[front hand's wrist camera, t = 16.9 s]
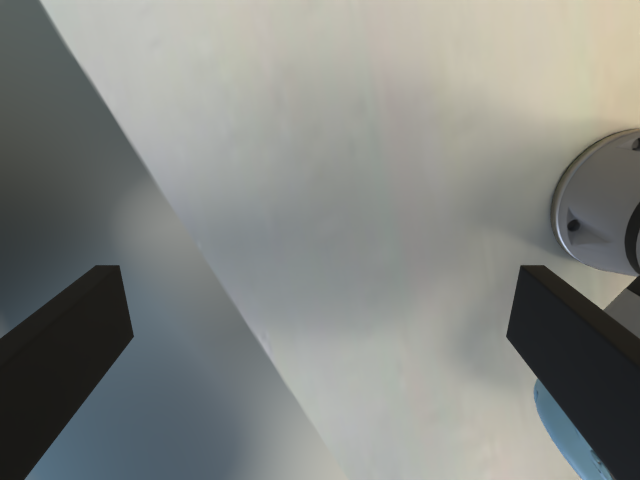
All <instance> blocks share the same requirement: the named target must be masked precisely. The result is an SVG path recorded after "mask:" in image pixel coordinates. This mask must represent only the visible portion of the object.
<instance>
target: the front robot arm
mask: <svg viewBox="0 0 640 480" xmlns="http://www.w3.org/2000/svg"><path fill="white" fill-rule="evenodd" d="M551 224H552V229H553V233H554V235H555V237H556V239H557V241H558V243H559V244H560V246H561V247H562V248H563V249H564V250H565V251H566V252H567V253H568V254H569V255H571V256H572V257H574V258H575V259H577V260H579V261H580V262H582V263H584V264H586V265H588V266H591V267H593V268H596V269H599V270H603V271H608V272H614V273H619V274H625V275H631V276H636V277H637V278H636V279H635V280H634V281H633V282H632V283H631V284H630V285H629V286H628V287H626V288H625V289H624V290H623V291H622V292H621V293H620V294H619V295H618V296H617V297H616V298H615V299H614V300H613V301H612V302H611V303H610V304H609V305H608V306H607V307H606V308H605V309H604V310H602V309H600V308H599V307H598V306H596V305H595V304H594V303H592V302H591V301H590V300H589V299H587V298H586V297H585V296H583V295H582V294H581V293H579V292H578V291H577V290H576V289H574V288H573V287H572V286H570V285H569V284H568V283H566V282H565V281H564V280H562V279H561V278H560V277H559V276H557V275H556V274H555V273H553V272H552V271H551V270H549V269H548V268H547V267H546V266H544V265H521V266H520V271H519V276H518V281H517V286H516V291H515V296H514V301H513V306H512V310H511V315H510V320H509V325H508V330H507V335H506V337H507V338H508V340H509V341H510V342H511V344H512V345H513V346H514V348H515V349H516V350H517V351H518V353H519V354H520V355H521V357H522V358H523V359H524V361H525V362H526V363H527V365H528V366H529V367H530V368H531V370H532V371H533V372H534V374H535V375H536V376H537V378H538V379H537V381H536V383H535V386H534V399H535V403H536V407H537V411H538V414H539V416H540V418H541V421H542V423H543V425H544V426H545V428H546V430H547V432H548V433H549V435H550V437H551V438H552V440H553V442H554V443H555V445H556V446H557V448H558V449H559V450H560V452H561V453H562V455H563V456H564V457H565V459H566V460H567V461H568V463H569V464H570V465H571V466H572V468H573V469H574V470H575V471H576V473H577V474H578V475H579V476H580V477H581V478H582V479H583V480H640V129H633V130H627V131H623V132H619V133H616V134H613V135H611V136H609V137H606V138H604V139H602V140H601V141H599V142H597V143H595V144H594V145H592V146H591V147H590V148H588V149H587V150H586V151H584V152H583V153H582V154H581V155H580V156H579V157H578V158H577V159H576V160H575V161H574V162H573V163H572V164H571V165H570V167H569V168H568V169H567V171H566V172H565V173H564V175H563V177H562V178H561V180H560V182H559V184H558V186H557V188H556V191H555V194H554V197H553V201H552V206H551ZM133 337H134V335H133V330H132V325H131V320H130V315H129V310H128V306H127V301H126V296H125V291H124V286H123V281H122V276H121V271H120V266H119V265H96V266H95V267H93V268H92V269H91V270H89V271H88V272H87V273H85V274H84V275H83V276H81V277H80V278H79V279H78V280H76V281H75V282H74V283H72V284H71V285H70V286H68V287H67V288H66V289H64V290H63V291H62V292H61V293H59V294H58V295H57V296H55V297H54V298H53V299H51V300H50V301H49V302H48V303H46V304H45V305H44V306H42V307H41V308H40V309H38V310H37V311H36V312H34V313H33V314H32V315H31V316H29V317H28V318H27V319H25V320H24V321H23V322H21V323H20V324H19V325H17V326H16V327H15V328H14V329H12V330H11V331H10V332H8V333H7V334H6V335H4V336H3V337H2V338H1V339H0V480H24V479H25V478H26V477H27V475H28V474H29V473H30V471H31V470H32V469H33V468H34V466H35V465H36V464H37V462H38V461H39V460H40V459H41V457H42V456H43V455H44V453H45V452H46V451H47V449H48V448H49V447H50V445H51V444H52V443H53V441H54V440H55V439H56V438H57V436H58V435H59V434H60V432H61V431H62V430H63V428H64V427H65V426H66V425H67V423H68V422H69V421H70V419H71V418H72V417H73V415H74V414H75V413H76V412H77V410H78V409H79V408H80V406H81V405H82V404H83V402H84V401H85V400H86V398H87V397H88V396H89V395H90V393H91V392H92V391H93V389H94V388H95V387H96V385H97V384H98V383H99V381H100V380H101V379H102V378H103V376H104V375H105V374H106V372H107V371H108V370H109V368H110V367H111V366H112V364H113V363H114V362H115V361H116V359H117V358H118V357H119V355H120V354H121V353H122V351H123V350H124V349H125V348H126V346H127V345H128V344H129V342H130V341H131V340H132V338H133Z"/></svg>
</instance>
